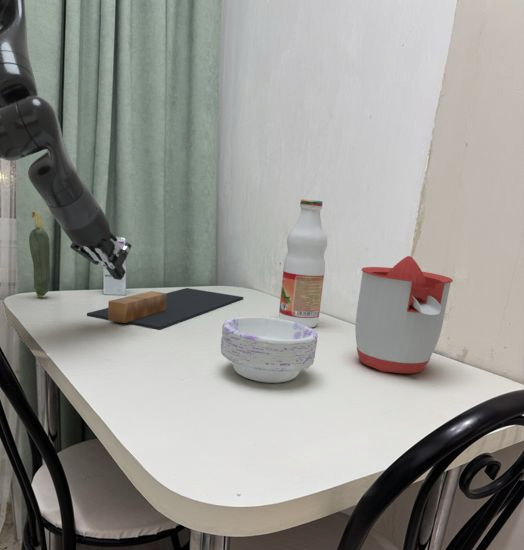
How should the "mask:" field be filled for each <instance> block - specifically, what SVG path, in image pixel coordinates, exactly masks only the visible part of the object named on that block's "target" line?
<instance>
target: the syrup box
mask: <svg viewBox="0 0 524 550" xmlns="http://www.w3.org/2000/svg"><path fill="white" fill-rule="evenodd" d="M115 237H116V238H117V241H118V242H119V243H121V244H123V245H125V243H127V242H126V237H122V236H115ZM117 253H118V252H117ZM122 266H123V268H124V269H125V271H126V273H125V274H124V276H123V278H122V280H118V279H114V278H113V277H112V275H110V273H109V272H108V270H107V269H106V268H104V267H102V280H103V281H102V284H103V285H102V287H103V288H102V289H103V290H102V291H103V292H102V293H103V295H106V296H107V295H109V296H126V294H127V259H126V260H125V261H124V263H123V265H122Z"/></svg>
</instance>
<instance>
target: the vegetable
mask: <svg viewBox="0 0 524 550" xmlns="http://www.w3.org/2000/svg"><path fill="white" fill-rule="evenodd" d="M31 218H34V219H33V225H34V226H33V227H34V229H32V230H31V231H30V233H29V236H28V245H29V251H30V255H31V259H32V264H33V288H34V291H35V294H36V297H38V298H40V299H41V298H43V297H44V296H46V294H47V293H48V292H49V291H50V286H51V248H50V245H51V243H50V237H49V235H48V232H47V231H46V230H45V229H44V227H45V226H44V220H43V218H42V217H41V216H40V214H39V213H38V211H35V210H33V211H32V212H31Z"/></svg>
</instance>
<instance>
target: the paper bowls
mask: <svg viewBox="0 0 524 550" xmlns="http://www.w3.org/2000/svg"><path fill="white" fill-rule="evenodd" d="M318 337H319V335H318V332H317V331H316V330H315V329H313V327H311V328H310V327H308V326H305V325H302V324H299V323H296V322H292V321H288V320H283V319H279V318H278V317H277V318H275V317H269V316H268V317H266V316H251V315H250V316H236V317H231V318H228V319H226V320H225V321H224V322H223V323H222V329H221V338H220V353H221V355H222V356H223V357H224V358H225V359H227V360H228V361H230V362H231V364H232V367H233V369H234V371H235V372H236V373H237V374H238V375H239V376H241V377H243V378H245V379H248V380H251V381H255V382H259V383H269V384H278V383H284V382H290V381H292V380H294V379H295V378H296V377H298V376H299V374H300V372H301V371H303V370H305V369H306V370H307V369H309V368H310V367H311V366H312V365H314V363H315V358H316V352H317V351H316V350H317V344H318Z"/></svg>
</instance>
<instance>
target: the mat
mask: <svg viewBox="0 0 524 550" xmlns="http://www.w3.org/2000/svg"><path fill="white" fill-rule="evenodd" d="M165 293H166V310H165V311H162V312H159V313H155V314H152V315H149V316H146V317H142V318H139V319H136V320H133V321H129V322H126V323H125V324H128V325H132V326H139V327H144V328H149V329H155V330H158V331H159V330H163V329H165V328H168V327H171V326H174V325H177V324H180V323H182V322H185V321H187V320H190V319H192V318H196V317H199V316H202V315H203V314H206V313H209V312H212V311H214V310H217V309H220V308H222V307H226V306H228V305H232V304H234V303H237V302H239V301H242V300H244V296H239V295H233V294H227V293H221V292H214V291H209V290H204V289H203V290H202V289H196V288H189V287H185V288H181V289H177V290H173V291H169V292H165ZM86 316H87V317H91V318H97V319H103V320H107V321H109V320H108V307H105V308H102V309H98V310H93V311H90V312H86Z"/></svg>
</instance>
